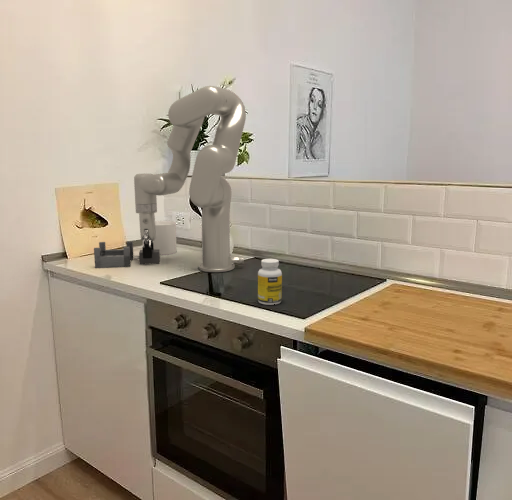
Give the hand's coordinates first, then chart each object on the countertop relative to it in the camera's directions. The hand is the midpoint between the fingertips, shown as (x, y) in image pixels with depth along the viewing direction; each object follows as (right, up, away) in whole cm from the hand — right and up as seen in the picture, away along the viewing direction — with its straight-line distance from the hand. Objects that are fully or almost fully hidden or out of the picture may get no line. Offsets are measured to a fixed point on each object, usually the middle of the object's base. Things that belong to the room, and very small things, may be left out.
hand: (148, 255), depth 185 cm
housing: (-12, -3, -1) cm, 12 cm away
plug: (0, -3, +1) cm, 3 cm away
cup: (+1, +1, +19) cm, 19 cm away
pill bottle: (+43, -12, -47) cm, 65 cm away
